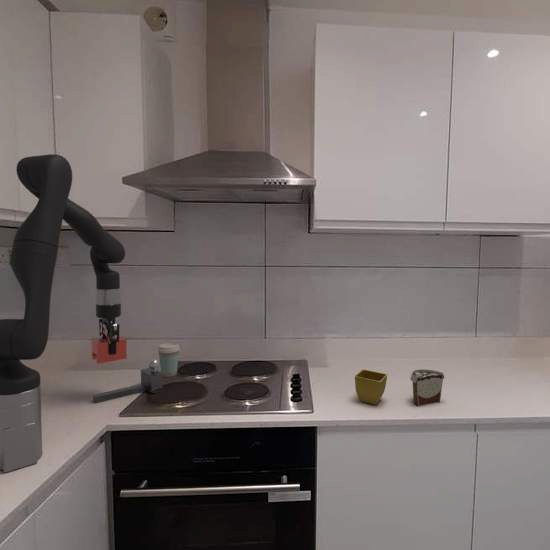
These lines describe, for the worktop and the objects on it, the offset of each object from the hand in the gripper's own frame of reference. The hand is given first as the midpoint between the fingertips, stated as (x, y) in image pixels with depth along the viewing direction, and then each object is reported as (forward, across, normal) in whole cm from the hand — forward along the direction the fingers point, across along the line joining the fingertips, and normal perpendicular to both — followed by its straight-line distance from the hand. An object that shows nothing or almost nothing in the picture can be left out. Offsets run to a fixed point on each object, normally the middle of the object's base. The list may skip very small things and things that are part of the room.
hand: (109, 351), depth 119 cm
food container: (+16, +69, +80) cm, 107 cm away
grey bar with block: (+16, +1, +6) cm, 17 cm away
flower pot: (+16, +58, +66) cm, 89 cm away
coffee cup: (+16, -9, +25) cm, 31 cm away
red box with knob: (+2, 0, 0) cm, 2 cm away
